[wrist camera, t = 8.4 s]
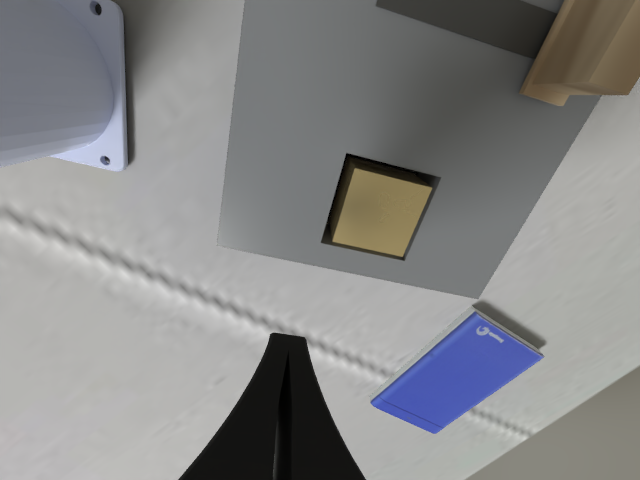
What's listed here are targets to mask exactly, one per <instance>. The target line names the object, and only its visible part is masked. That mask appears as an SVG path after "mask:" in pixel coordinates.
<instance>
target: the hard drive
mask: <svg viewBox="0 0 640 480" xmlns="http://www.w3.org/2000/svg"><path fill="white" fill-rule="evenodd" d="M542 358H544V356H543V354H542V353H541V352H540V351H539V350H538V348H536V347H535V346H533V345H532V344H530V343H528V342H527V341H525V340H524V339H522V338H521V337H519V336H518V335H516V334H514V333H513V332H511V331H510V330H508V329H507V328H505V327H504V326H502V325H501V324H499V323H497V322H496V321H494V320H493V319H491V318H490V317H488V316H487V315H485V314H483V313H482V312H480V311H479V310H477V309H476V308H474V307H473V306H471V307H469V308H468V309H467V310H466V311H465V312H464V313H463V314H461V315H460V316H459V317H458V318H457V319H456V320H455V321H454V322H452V323H451V324H450V325H449V326H448V327H447V328H446V329H445V330H443V331H442V332H441V333H440V334H439V335H438V336H437V337H435V338H434V339H433V340H432V341H431V342H430V343H429V344H428V345H426V346H425V347H424V348H423V349H422V350H421V351H420V352H419V353H417V354H416V355H415V356H414V357H413V358H412V359H411V360H410V361H408V362H407V363H406V364H405V365H404V366H403V367H402V368H401V369H399V370H398V371H397V372H396V373H395V374H394V375H393V376H392V377H390V378H389V379H388V380H387V381H386V382H385V383H384V384H383V385H381V386H380V387H379V388H378V389H377V390H376V391H375V392H373V393H372V394H371V395H370V402H371V404H372V405H373V406H374V407H376V408H378V409H380V410H382V411H384V412H386V413H389V414H391V415H393V416H395V417H398V418H400V419H402V420H404V421H406V422H409V423H411V424H413V425H415V426H418V427H420V428H422V429H424V430H426V431H429V432H431V433H434V434H436V433H438V432H439V431H440V430H442V429H443V428H444V427H445V426H447V425H448V424H450V423H451V422H452V421H454V420H455V419H457V418H458V417H460V416H461V415H463V414H464V413H465V412H467V411H468V410H470V409H471V408H472V407H474V406H475V405H477V404H478V403H480V402H481V401H483V400H484V399H485V398H487V397H488V396H490V395H491V394H493V393H494V392H495V391H497V390H498V389H500V388H501V387H502V386H504V385H505V384H507V383H508V382H510V381H511V380H512V379H514V378H515V377H517V376H518V375H519V374H521V373H522V372H524V371H525V370H527V369H528V368H529V367H531V366H532V365H534V364H535V363H537V362H538V361H540V360H541V359H542Z"/></svg>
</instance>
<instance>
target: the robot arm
mask: <svg viewBox="0 0 640 480" xmlns="http://www.w3.org/2000/svg"><path fill="white" fill-rule="evenodd" d="M97 4H100V6H101V8H102V13H101V14H100V15H98V14H97V13H96V10H95V6H96V5H97ZM47 156H50V157H55V158H59V159H64V160H68V161H72V162H77V163H81V164H86V165H90V166H94V167H99V168H103V169H108V170H112V171H122V170H124V169H126V168H127V165H128V153H127V120H126V87H125V54H124V21H123V12H122V10H121V8H120V7H119V6H118V5H117V4H116V3H115V2H113V1H111V0H0V167H5V166H9V165H13V164H17V163H21V162H26V161H30V160H34V159H38V158H43V157H47ZM105 156H106V157H108V158H109V159H110V164H109V163H107V162H106V161H105ZM274 454H275V457H274ZM273 470H274V473H273ZM179 480H366V479H365V477H364V476H363V474H362V472H361V471H360V469H359V467H358V466H357V464H356V462H355V461H354V459H353V457H352V456H351V454H350V452H349V450H348V448H347V446H346V445H345V443H344V441H343V439H342V437H341V435H340V433H339V431H338V429H337V427H336V425H335V423H334V421H333V418H332V416H331V414H330V412H329V409H328V407H327V405H326V402H325V400H324V397H323V395H322V392H321V389H320V387H319V384H318V381H317V378H316V375H315V372H314V369H313V366H312V362H311V359H310V355H309V351H308V347H307V341H306V339H305V337H300V336H293V335H287V334H280V333H272V334H270V338H269V342H268V345H267V348H266V350H265V353H264V355H263V357H262V359H261V362H260V363H259V365H258V367H257V369H256V371H255V373H254V375H253V377H252V379H251V381H250V382H249V384H248V386H247V387H246V389H245V391H244V392H243V394H242V396H241V397H240V399H239V401H238V402H237V404H236V405H235V407H234V408H233V410H232V411H231V413H230V414H229V416H228V417H227V419H226V420H225V421H224V423H223V424H222V426H221V427H220V428H219V430H218V431H217V432H216V434H215V435H214V436H213V438H212V439H211V440H210V442H209V443H208V444H207V446H206V447H205V448H204V449H203V451H202V452H201V453H200V454H199V456H198V457H197V458H196V459H195V460H194V462H193V463H192V464H191V465H190V466H189V468H188V469H187V470H186V471H185V472H184V474H183V475H182V476H181V477H180V478H179Z"/></svg>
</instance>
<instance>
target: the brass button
mask: <svg viewBox="0 0 640 480" xmlns="http://www.w3.org/2000/svg"><path fill="white" fill-rule="evenodd" d="M431 190H432V187H431V186H429V185H428V184H427V183H425V182H424V181H423V180H422V179H420V178H419V177H418V176H416V175H415V174H414V173H411V172H407V171H403V170H399V169H396V168H392V167H388V166H384V165H380V164H376V163H372V162H369V161H365V160H361V159H357V158H353V157H349V156H348V157H347V160H346V164H345V167H344V171H343V174H342V177H341V181H340V184H339V188H338V191H337V195H336V198H335V202H334V205H333V209H332V212H331V215H330V219H329V222H330V229H331V236H332V242H336V243H341V244H346V245H350V246H355V247H359V248H364V249H369V250H373V251H378V252H382V253H387V254H392V255H396V256H401V257H403V255H404V252H405V250H406V248H407V245H408V243H409V241H410V239H411V236H412V234H413V232H414V229H415V227H416V225H417V222H418V220H419V218H420V215H421V213H422V211H423V209H424V206H425V204H426V202H427V199H428V197H429V195H430V192H431Z"/></svg>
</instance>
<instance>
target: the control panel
mask: <svg viewBox="0 0 640 480" xmlns="http://www.w3.org/2000/svg"><path fill="white" fill-rule="evenodd" d="M563 2H564V0H245V3H244V12H243V20H242V29H241V38H240V47H239V55H238V64H237V73H236V82H235V90H234V99H233V108H232V117H231V125H230V134H229V143H228V152H227V160H226V169H225V178H224V186H223V195H222V204H221V213H220V221H219V230H218V239H217V246H220V247H225V248H230V249H235V250H240V251H245V252H250V253H254V254H259V255H264V256H269V257H274V258H279V259H284V260H289V261H294V262H298V263H303V264H308V265H313V266H318V267H323V268H328V269H333V270H338V271H343V272H347V273H352V274H357V275H362V276H367V277H372V278H377V279H382V280H387V281H391V282H396V283H401V284H406V285H411V286H416V287H421V288H426V289H431V290H436V291H440V292H445V293H450V294H455V295H460V296H465V297H470V298H475V299H479V297H480V295H481V294H482V292H483V290H484V289H485V287H486V285H487V284H488V282H489V280H490V279H491V277H492V275H493V274H494V272H495V271H496V269H497V267H498V266H499V264H500V262H501V261H502V259H503V257H504V256H505V254H506V252H507V251H508V249H509V247H510V246H511V244H512V242H513V241H514V239H515V237H516V236H517V234H518V233H519V231H520V229H521V228H522V226H523V224H524V223H525V221H526V219H527V218H528V216H529V214H530V213H531V211H532V209H533V208H534V206H535V204H536V203H537V201H538V200H539V198H540V196H541V195H542V193H543V191H544V190H545V188H546V186H547V185H548V183H549V181H550V180H551V178H552V176H553V175H554V173H555V171H556V170H557V168H558V167H559V165H560V163H561V162H562V160H563V158H564V157H565V155H566V153H567V152H568V150H569V148H570V147H571V145H572V143H573V142H574V140H575V138H576V137H577V135H578V133H579V132H580V130H581V129H582V127H583V125H584V124H585V122H586V120H587V119H588V117H589V115H590V114H591V112H592V110H593V109H594V107H595V105H596V104H597V102H598V100H599V99H600V97H601V96H602V95H569V97H568V99H567V100H566V102H565V104H564V106H557V105H554V104H551V103H548V102H544V101H541V100H538V99H535V98H532V97H529V96H525V95H522V94H519V92H520V90H521V87H522V85H523V83H524V81H525V79H526V77H527V75H528V73H529V71H530V69H531V67H532V65H533V63H534V61H535V59H536V57H537V55H538V53H539V51H540V49H541V47H542V45H543V43H544V41H545V39H546V37H547V35H548V33H549V31H550V29H551V27H552V25H553V23H554V21H555V19H556V17H557V15H558V13H559V10H560V8H561V6H562V4H563ZM346 153H349V154H353V155H357V156H361V157H364V158H368V159H372V160H376V161H380V162H384V163H387V164H391V165H395V166H399V167H403V168H407V169H410V170H414V171H418V175H417V176H418V177H419V178H420V179H422V180H423V181H424V182H425V183H427V184H428V185H429V186H431V187H432V190H431V192H430V195H429V197H428V199H427V202H426V204H425V206H424V209H423V211H422V213H421V215H420V218H419V220H418V222H417V225H416V227H415V229H414V232H413V234H412V236H411V239H410V241H409V243H408V245H407V248H406V250H405V252H404V255H403V257H401V256H396V255H392V254H387V253H382V252H378V251H373V250H369V249H364V248H359V247H355V246H350V245H346V244H341V243H336V242H332V236H331V229H330V224H326V222H327V219H328V215H329V212H330V208H331V205H332V201H333V198H334V194H335V191H336V187H337V184H338V180H339V177H340V173H341V170H342V166H343V163H344V160H345V156H346Z"/></svg>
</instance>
